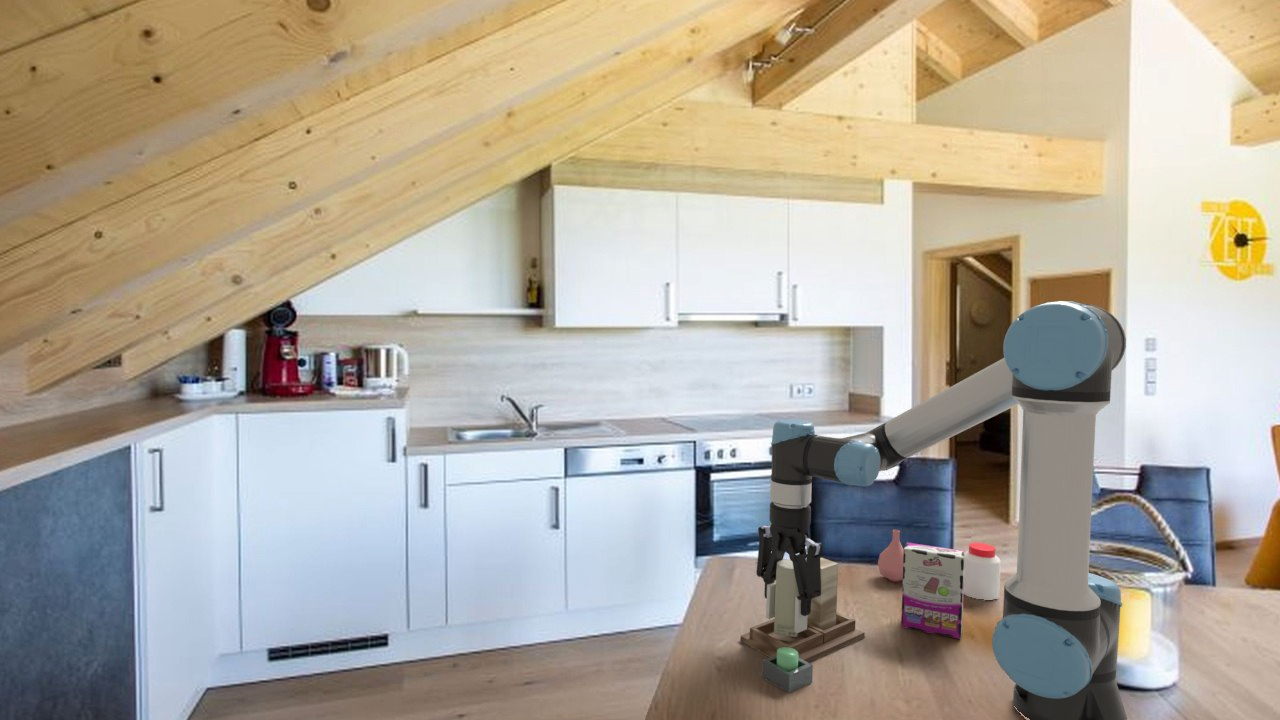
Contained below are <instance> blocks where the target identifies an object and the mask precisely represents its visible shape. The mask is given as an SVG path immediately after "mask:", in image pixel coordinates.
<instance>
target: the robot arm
mask: <svg viewBox="0 0 1280 720" xmlns="http://www.w3.org/2000/svg"><path fill="white" fill-rule="evenodd" d="M1002 349H1003V350H1002V351H1003V357H1002V358H1001V359H999V360H997V361H996V362H994V363H992V364H990V365H988V366H986V367H985V368H983V369H981V370H979V371H978V372H975V373H973V374H972V375H969V376H968V377H966V378H964V379H963V380H961V381H959V382H957V383H955V384H954V385H952V386H950V387H948V388H946V389H945V390H943V391H941V392H939V393H937V394H935V395H934V396H931V397H930V398H928V399H926V400H924V401H922V402H920V403H919V404H916V405H915V406H913V407H911V408H909V409H908V410H906V411H904V412H902V413H900V414H899V415H897V416H895V417H893V418H891V419H889V420H888V421H885V422H884V423H882V424H880V425H877V426H876V427H875V428H873V429H871V430H869V431H866V432H864V433H859V434H855V435H854V434H853V435H851V436H846V437H843V438H841V437H840V438H838V437H830V436H824V435H819V434H815V426H814V423H812V422H811V421H807V420H803V419H779V420H777V421H776V422H775V423H774V424H773V429H772V438H771V442H770V445H771V475H770V486H769V487H770V488H769V490H770V491H769V500H770V501H771V502H770V503H769V522H770V523H771V524H767V525H762V526H758V529H757V531H758V537H759V539H758V540H759V542H758V554H757V562H756V564H757V565H756V572H755V573H756V576H757V577H758V578H761V579H762V580H763V582H764V598H765V599H766V606H765V608H766V609H765V611H766V612H765V618H766V619H768V620H770V619H774V616H775V590H776V570H777V561H779V560H784V556H785V554H788V556H789V560H791V561H792V562H793V567H794V572H795V577H796V582H797V587H798V592H799V596H797V597H796V598H795V626H794V632H796V633H799V632H801V631H804V630H806V629H807V618H808V615H809V614H810V612H811V599H813V598H815V597H818V596H820V595H821V567H820V558H821V554H822V551H823V547H824V546H823V544H822V543H821V542H815V541H814V540H812V539H811V537H810V536H811V535H810V533H809V528H810V525H811V522H812V521H811V520H812V506H811V505H810V504H812V484H813V477H814V478H818V479H823V480H827V481H830V482H835V483H840V484H845V485H847V486H859V487H869V486H871V485H872V484H874V481H875V480H876V479H878V476H879V474H880V472H883V471H884V472H885V471H888V470H891V469H894V468H895V467H897V466H898V465H900V464H901V462H903V461H906V460H907V459H909V458H911V457H913V456H915V455H918V454H919V453H921V452H924V451H926V450H927V449H930V448H932V447H934V446H936V445H938V444H940V443H943V442H944V441H946V440H948V439H950V438H953V437H954V436H956V435H958V434H960V433H962V432H965V431H967V430H968V429H969V430H970V429H972V427H974V426H977V425H978V424H980V423H983V422H985V421H987V420H989V419H991V418H993V417H996V416H998V415H999V414H1001V413H1003V412H1006V411H1007V410H1009V409H1012V408H1014V407H1016V406H1017V405H1019V406H1020V407H1021V409H1022V410H1023V411H1022V433H1021V435H1022V436H1021V437H1022V438H1021V460H1020V461H1021V463H1020V481H1019V482H1020V486H1019V487H1020V488H1019V508H1018V512H1019V513H1018V531H1017V532H1018V534H1017V536H1018V537H1017V556H1016V557H1017V559H1016V560H1017V561H1016V573H1015V574H1013V575H1012V576H1010V577H1008V578H1006V580H1005V581H1004V584H1003V585H1004V588H1003V605H1002V606H1003V607H1002V608H1003V609H1002V618H1001V619H1000V620H999V621H998V622H997V623H996V625H995V627H994V631H993V634H992V639H991V643H992V644H991V646H992V652H993V655H994V658H995V660H996V661H997V662H996V663H997V664H998V665H999V667H1000V668H1001V670H1002V671H1004V673H1005V674H1006V675H1007V676H1008V677H1009V679H1010V680H1011V681H1013V683H1015V684H1014V687H1013V692H1012V693H1013V697H1012V703H1014V705H1013V706H1015V707H1016V708H1017V710H1018V711H1019V712H1021V713H1022V714H1023V715H1024V716H1025V717H1027V718H1029V719H1030V720H1128V715H1127V713H1126V709H1125V706H1124V703H1123V699H1122V697H1121V694H1120V690H1119V687H1118V684H1117V667H1118V655H1119V654H1118V653H1119V650H1118V649H1119V636H1120V635H1119V634H1120V623H1121V622H1120V621H1121V608H1122V607H1123V602H1122V597H1121V596H1122V594H1121V593H1122V592H1121V589H1120V587H1119V586H1118V584H1117V583H1116V582H1114V581H1112V580H1110V579H1109V578H1105V577H1103V576H1100V575H1098V574H1095V573H1091V572H1090V571H1089V570H1090V569H1089V567H1090V551H1091V550H1090V548H1091V547H1090V546H1091V528H1092V527H1091V525H1092V508H1093V507H1092V504H1093V484H1094V482H1093V480H1094V460H1095V439H1096V438H1095V437H1096V436H1095V435H1096V418H1097V417H1096V415H1097V414H1098V413H1099V412H1100V411H1102V409H1104V408H1105V407H1106V406H1108V405H1109V404H1110V403H1111V389H1112V373H1113V372H1112V371H1114V370H1115V369H1116V368H1117V367H1118V366H1119V364H1120V362H1121V360H1122V359H1123V357H1124V355H1125V352H1126V349H1127V338H1126V333H1125V330H1124V328H1123V326H1122V324H1121V323H1120V321H1119V319H1117V318H1116V317H1115V316H1114V315H1113V314H1112V313H1111V312H1109V311H1107V310H1106V309H1104V308H1103V307H1099V306H1097V305H1094V304H1089V303H1079V302H1075V301H1065V300H1058V301H1048V302H1045V303H1042V304H1039V305H1035V306H1033V307H1031V308H1028V309H1026V310H1024V311H1023V312H1022V313H1021V314H1020V315H1018V316H1017V317H1016V318H1015V319H1014V320H1013V322H1011V324H1010V325H1009V327H1008V329H1007V332H1006V333H1005V336H1004V340H1003V347H1002ZM805 590H806V591H805ZM1015 707H1014V708H1015Z"/></svg>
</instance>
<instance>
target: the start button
mask: <svg viewBox="0 0 1280 720" xmlns="http://www.w3.org/2000/svg"><path fill="white" fill-rule="evenodd" d="M777 666H779V667H780V668H782V669H784V670H786V671H788V672H790V671H792V670H795V669H797V668H798V652H797V651H796V650H795V649H793V648H789V647H782V648H779V649H778V650H777Z"/></svg>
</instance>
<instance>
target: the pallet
mask: <svg viewBox="0 0 1280 720" xmlns="http://www.w3.org/2000/svg"><path fill="white" fill-rule="evenodd" d="M820 567H821V595H820V596H818V597H815V598H813V599H811V612H810V614H809V615H808V618H807V629H806V630H804V631H801V632H799V633H798V634H797V637H791V636H782V635H776V634H774V618H772V619H771V620H770V619H769V620H767V621H765V622H762V623H760V624H757V625H755V626H753V627H752V626H751V627H749V632H746V633H745V634H742V635H740V639H739V640H740V642H741V643H743V644H745V645H747V646H749V647H751V648H753V649H755V650H756V651H758V652H760V653H761V654H763V655H766V656H768V658H769V657H772V656H774V655H776V654H777V650H778V649H779V648H782V647H789V648H793V649H795V650H796V651H797V652H798V657H799V658H800V659H802V660H804V661H806V662H808V663H811V662H813V661H816V660H818V659H820V658H823V657H824V656H827V655H829V654H832V653H834V652H836V651H838V650H840V649H842V648H845V647H847V646H849V645H851V644H853V643H855V642H858V641H860V640H862V639H864V638H865V637H866V636H865V634H866V633H865V632H864V631H862V630H860V629H858V628H856V620H855V619H853V618H852V617H848V616H847V615H844V614H842V613H840V612H837V608H838V607H837V605H838V582H839V581H838V580H839V577H838V576H839V574H838V573H839V563H837V562H835V561H832V560H830V559H827V558H824V557H820ZM805 591H806V590H805Z"/></svg>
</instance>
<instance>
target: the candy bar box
mask: <svg viewBox="0 0 1280 720" xmlns="http://www.w3.org/2000/svg"><path fill="white" fill-rule="evenodd" d="M903 549H904V555H903V580H902V588H901V590H902V591H901V593H902V594H901V597H902V598H901V617H900V618H901V619H900V621H901V622H900V624H901V625H900V627H902V628H904V629H910V630H915V631H920V632H924V633H928V634H934V635H938V636H942V637H948V638H953V639H957V640H958V639H959V640H961V639H962V632H963V619H964V618H963V615H964V613H963V612H964V611H963V610H964V594H963V592H964V559H965V552H966V551H965V550H960V549H953V548H946V547H940V546H932V545H926V544H918V543H913V542H906V544H905V546H904V548H903Z"/></svg>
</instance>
